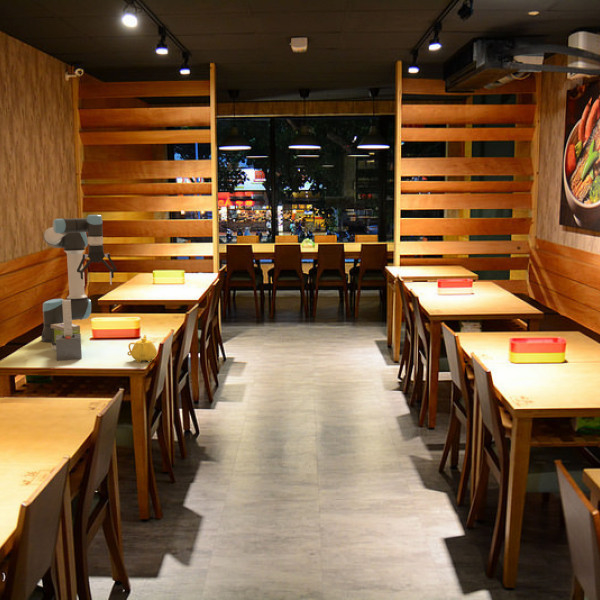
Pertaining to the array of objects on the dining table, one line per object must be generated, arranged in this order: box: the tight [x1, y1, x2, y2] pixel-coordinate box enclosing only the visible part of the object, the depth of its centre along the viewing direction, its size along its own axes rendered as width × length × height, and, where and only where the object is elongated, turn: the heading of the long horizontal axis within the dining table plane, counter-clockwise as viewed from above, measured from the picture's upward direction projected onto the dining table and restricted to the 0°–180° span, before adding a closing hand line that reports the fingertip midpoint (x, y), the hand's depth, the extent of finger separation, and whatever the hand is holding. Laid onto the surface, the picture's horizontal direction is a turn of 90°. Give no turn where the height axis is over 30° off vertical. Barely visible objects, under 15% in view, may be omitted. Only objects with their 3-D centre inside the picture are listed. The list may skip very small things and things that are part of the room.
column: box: [62, 299, 73, 338], centre depth 357 cm, size 6×4×24 cm
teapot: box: [126, 334, 158, 363], centre depth 357 cm, size 20×15×12 cm
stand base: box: [55, 333, 83, 362], centre depth 359 cm, size 16×16×13 cm
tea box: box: [50, 323, 81, 351], centre depth 377 cm, size 15×10×15 cm
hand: (97, 285), depth 369 cm, fingers open, 13 cm apart
